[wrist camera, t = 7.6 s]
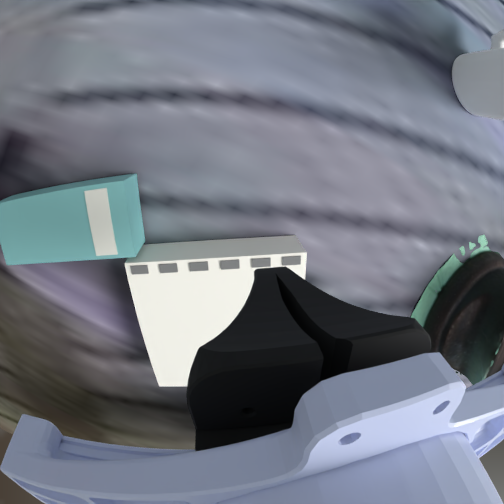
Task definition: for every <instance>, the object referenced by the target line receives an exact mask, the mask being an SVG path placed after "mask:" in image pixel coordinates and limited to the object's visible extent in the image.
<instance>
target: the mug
mask: <svg viewBox="0 0 504 504" xmlns="http://www.w3.org/2000/svg"><path fill="white" fill-rule="evenodd" d="M452 81H453V86H454V90H455V93H456V95H457V97H458V99H459V101H460V103H461V104H462V106H463V107H464V108H465V109H466V110H467V111H468V112H469V113H471V114H472V115H475V116H479V117H485V118H491V119H497V120H503V121H504V30H502V31H500V32H498V33H496V34H494V35H492V36H491V49H490V50H483V51H477V52H471V53H466V54H462V55H460V56H458V57H457V58H456V59H455V61H454V63H453V67H452Z"/></svg>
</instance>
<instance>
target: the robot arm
mask: <svg viewBox="0 0 504 504" xmlns="http://www.w3.org/2000/svg"><path fill="white" fill-rule="evenodd" d="M430 350H431V339H430V336H429V334H428V333H427V332H426V331H425V329H424V328H423V327H422V326H421V325H420V324H419V322H418V321H417V320H416V319H415V318H410V317H401V316H393V315H387V314H382V313H378V312H373V311H370V310H366V309H363V308H360V307H357V306H354V305H351V304H348V303H346V302H344V301H341V300H339V299H337V298H335V297H333V296H331V295H329V294H327V293H325V292H323V291H322V290H320V289H318V288H317V287H315V286H313V285H312V284H310V283H309V282H307V281H306V280H304V279H303V278H302V277H300V276H299V275H297V274H296V273H295V272H293V271H292V270H290V269H289V268H287V267H286V266H285V267H273V268H260V269H256V270H255V271H254V282H253V285H252V288H251V291H250V294H249V296H248V298H247V300H246V302H245V304H244V306H243V307H242V309H241V311H240V312H239V314H238V315H237V316H236V317H235V319H234V320H233V321H232V322H231V324H230V325H229V326H228V327H227V328H226V329H225V330H223V331H222V332H221V333H220V334H219V335H218V336H216V337H215V338H214V339H212V340H210V341H209V342H207V343H206V344H204V345H202V346H201V347H199V349H198V351H197V353H196V356H195V358H194V361H193V363H192V366H191V370H190V374H189V378H188V384H187V404H188V407H189V411H190V414H191V417H192V420H193V423H194V425H195V428H196V443H195V450H179V449H155V448H141V447H130V446H121V445H113V444H106V443H99V442H93V441H87V440H81V439H76V438H71V437H67V436H62V434H61V432H60V431H59V429H58V428H57V427H56V426H55V425H54V424H53V423H51V422H49V421H47V420H45V419H41V418H37V417H33V416H29V415H26V414H22V416H21V418H20V420H19V423H18V425H17V427H16V429H15V432H14V434H13V436H12V439H11V441H10V444H9V446H8V448H7V451H6V454H5V456H4V459H3V462H2V464H1V467H0V468H1V471H2V472H3V473H4V474H6V475H7V476H8V477H9V478H10V479H12V480H13V481H14V482H15V483H17V484H18V485H19V486H21V487H22V488H23V489H25V490H26V491H27V492H29V493H30V494H31V495H33V496H34V497H36V498H37V499H39V500H40V501H41V502H43V503H45V504H503V502H502V500H501V498H500V496H499V495H498V493H497V491H496V489H495V487H494V485H493V483H492V481H491V480H490V478H489V476H488V474H487V472H486V470H485V469H484V467H483V465H482V463H481V462H480V460H479V458H480V457H481V456H482V455H484V454H485V453H486V452H488V451H489V450H490V449H492V448H493V447H494V446H496V445H497V444H498V443H499V442H501V441H502V440H503V439H504V364H503V366H502V369H501V370H500V371H499V372H497V373H495V374H493V375H492V376H490V377H488V378H486V379H484V380H482V381H480V382H478V383H476V384H474V385H472V386H470V387H468V388H466V386H465V385H464V383H463V382H462V380H461V379H460V378H459V377H458V375H457V374H456V373H455V371H454V370H453V369H452V368H451V366H450V365H449V364H448V362H447V361H446V360H445V359H444V357H443V356H442V355H441V354H440V352H438V353H430Z"/></svg>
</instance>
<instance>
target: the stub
mask: <svg viewBox="0 0 504 504" xmlns="http://www.w3.org/2000/svg"><path fill="white" fill-rule="evenodd" d="M144 242H145V235H144V228H143V221H142V214H141V207H140V199H139V190H138V181H137V173H136V174H128V175H120V176H113V177H106V178H99V179H93V180H87V181H81V182H75V183H69V184H64V185H58V186H53V187H48V188H43V189H38V190H34V191H29V192H25V193H20V194H16V195H12V196H10V197H8V198H5V199H3V200H1V201H0V243H1V247H2V250H3V254H4V257H5V261H6V264H7V265H18V264H34V263H49V262H65V261H81V260H97V259H113V258H129V257H136V255H137V254H138V252H139V250H140V249H141V247H142V245H143V244H144Z"/></svg>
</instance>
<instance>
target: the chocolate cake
mask: <svg viewBox="0 0 504 504" xmlns="http://www.w3.org/2000/svg"><path fill="white" fill-rule="evenodd" d="M478 243H480V244H481V247H480V248H479V249H476V250H474V251H473V252H472V254H471V256H470V258H469V259H468V260H466V262H465V263H461V262H460V261H459V260H458V259H457V258H456V256H455V255H454V254H453V255H452V256H451V257H450V259H449V260H448V261H447V262H446V263H445V264H444V265H443V266H442V267H441V268H440V269H439V270H438V271H437V273H436V275H435V276H434V277H433V279H432V280H431V282H430V283H429V284H428V286H427V287H426V289H425V291H424V293H423V295H422V297H421V299H420V300H419V302H418V304H417V306H416V308H415V310H414V312H413V313H412V315H411V318H415V319H416V320H417V321H418V322H419V324H420V325H421V326H422V327H423V328H424V329H425V331H426V332H427V333H428V334H429V336H430V339H431V350H430V353H438V352H440V354H441V355H442V356H443V357H444V359H445V360H446V361H447V362H448V364H449V365H450V366H451V368H453V369H455V370H457V371H459V372H460V375H461V373H462V374H463V375H465V376H466V377H467V378H468V379H469V381H470V382H471V383H472V384H473V385H474V384H476V383H478V382H480V381H482V380H484V379H486V378H488V377H490V376H492V375H493V374H495V373H497V372H499V371H500V370H501V369H502V366H503V364H504V259H503V258H502V257H501V255H500V254H499V253H498V252H492V251H491V250H490V249H489V247H486V246H485V245H486V244H487V243H488V242H487V241H486V239H485V235H482V236H480V237H478ZM484 246H485V248H484ZM469 247H470V250H471V249H473V247H475V244H473V243H471V242H469ZM459 250H460V251H461V254H462V255H465V249H464V246H462V247H461V248H459ZM436 290H437V292H435V291H436ZM457 371H456V373H458V372H457Z"/></svg>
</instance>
